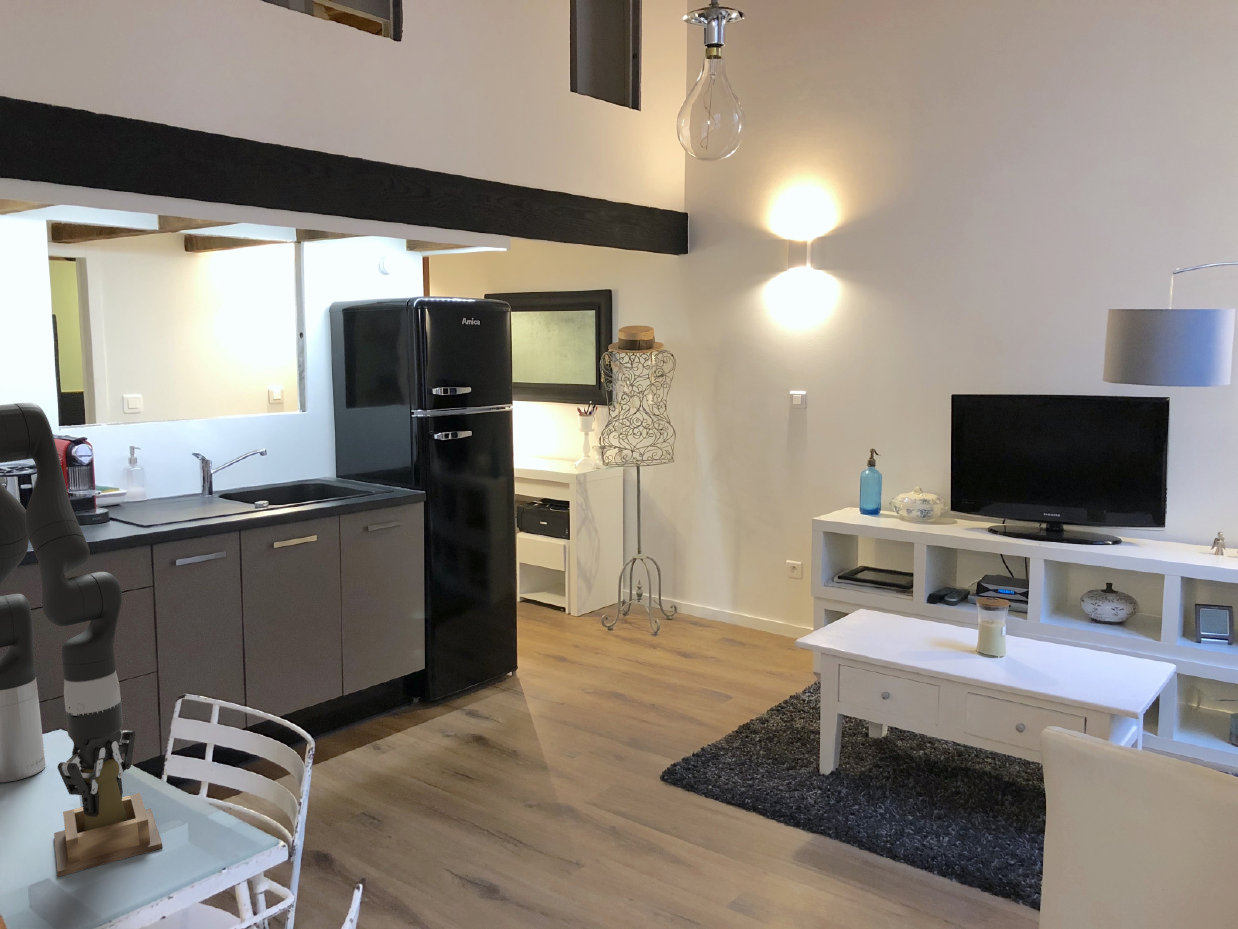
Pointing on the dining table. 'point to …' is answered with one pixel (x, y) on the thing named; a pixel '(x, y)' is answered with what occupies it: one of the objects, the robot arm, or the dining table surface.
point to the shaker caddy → (105, 838)
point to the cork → (106, 797)
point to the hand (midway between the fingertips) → (103, 808)
